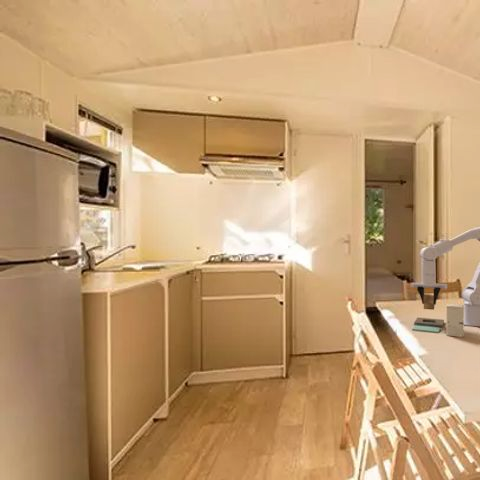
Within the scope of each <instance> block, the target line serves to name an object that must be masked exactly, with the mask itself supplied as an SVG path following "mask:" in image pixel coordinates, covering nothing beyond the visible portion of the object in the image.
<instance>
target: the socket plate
mask: <svg viewBox="0 0 480 480" xmlns="http://www.w3.org/2000/svg"><path fill="white" fill-rule="evenodd" d="M413 323H414V324H413V326H414V325H417V326H427V327H437V328H440V329H441V328H443V325H444V323H445V320H444V319H440V318H439V319H438V318H428V317H426V318H425V317H416V319H415V321H414V322H413Z"/></svg>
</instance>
